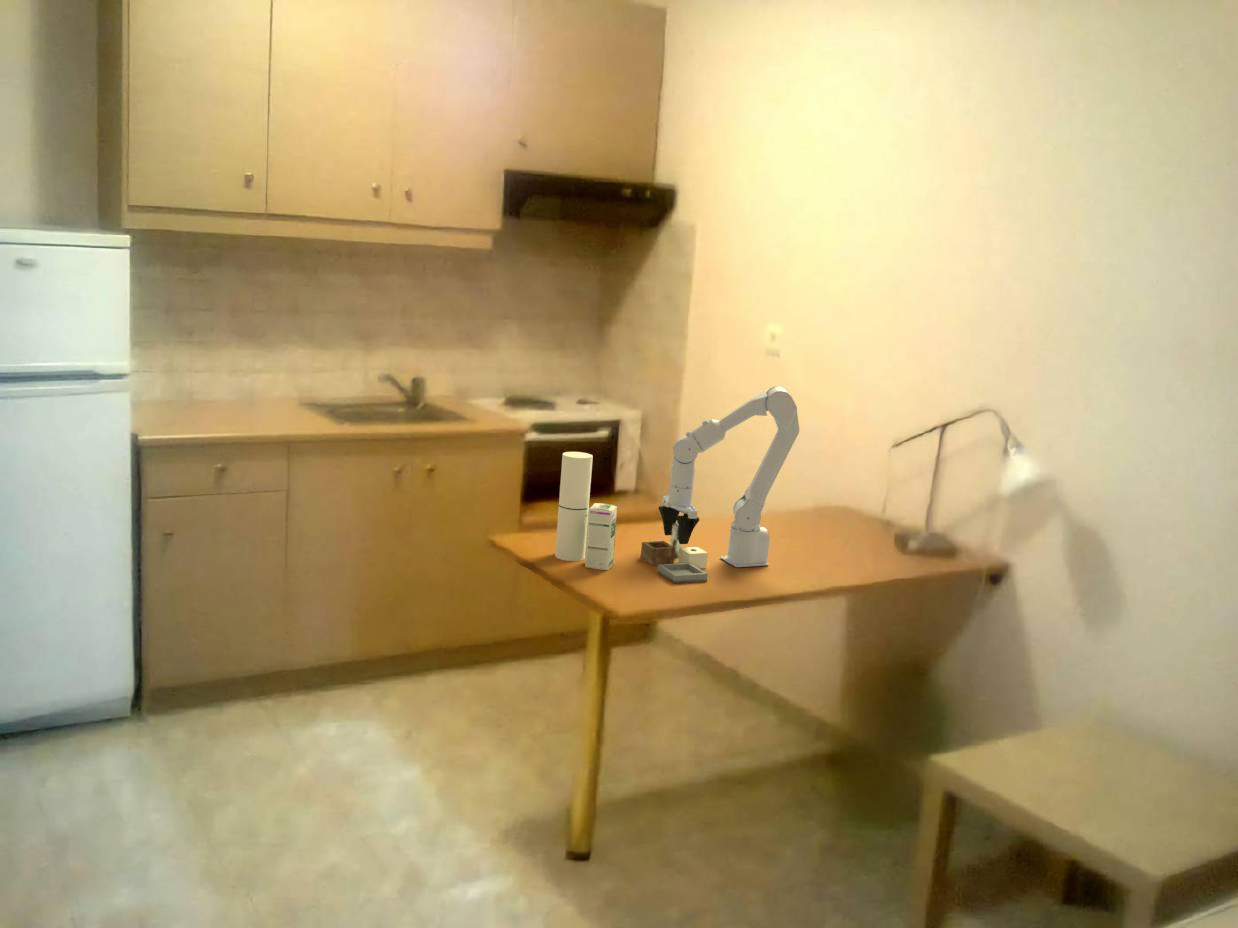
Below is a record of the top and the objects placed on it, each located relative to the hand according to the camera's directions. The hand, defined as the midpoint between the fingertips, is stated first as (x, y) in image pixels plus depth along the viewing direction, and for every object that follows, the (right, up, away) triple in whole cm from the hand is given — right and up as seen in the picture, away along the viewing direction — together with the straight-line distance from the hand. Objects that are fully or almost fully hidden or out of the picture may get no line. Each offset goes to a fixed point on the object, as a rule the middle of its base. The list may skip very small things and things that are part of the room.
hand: (676, 539), depth 264 cm
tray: (+1, -8, -15) cm, 17 cm away
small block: (+4, -6, -6) cm, 9 cm away
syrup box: (-19, -6, -12) cm, 23 cm away
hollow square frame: (-5, -5, -5) cm, 8 cm away
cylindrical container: (-26, -4, -7) cm, 27 cm away
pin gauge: (0, -4, +1) cm, 4 cm away
